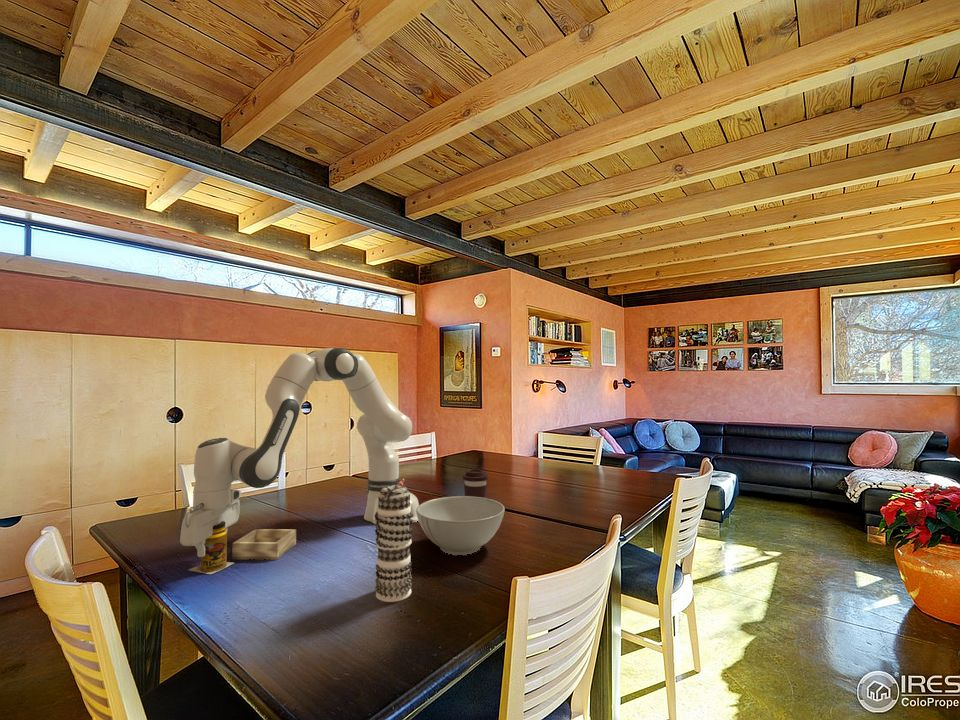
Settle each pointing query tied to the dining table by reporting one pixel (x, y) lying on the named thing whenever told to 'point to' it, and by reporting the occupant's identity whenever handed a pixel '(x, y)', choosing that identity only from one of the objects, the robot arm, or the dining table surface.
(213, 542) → the condiment
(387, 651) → the dining table surface
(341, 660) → the dining table surface
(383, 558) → the decorative candle
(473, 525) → the decorative bowl
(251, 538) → the caddy
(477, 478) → the coffee cup
